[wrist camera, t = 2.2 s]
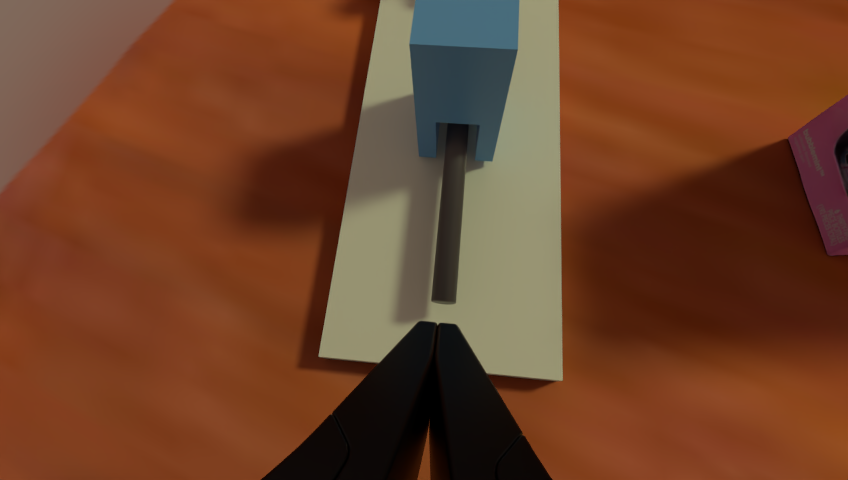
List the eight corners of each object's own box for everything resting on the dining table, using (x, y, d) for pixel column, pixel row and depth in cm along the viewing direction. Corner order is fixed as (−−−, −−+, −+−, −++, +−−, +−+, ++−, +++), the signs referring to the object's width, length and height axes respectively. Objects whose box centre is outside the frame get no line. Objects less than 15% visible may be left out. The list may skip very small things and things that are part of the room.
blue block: (492, 161, 24) (517, 49, 16) (418, 156, 25) (409, 44, 17) (495, 89, 26) (520, -44, 18) (427, 85, 26) (421, -48, 18)
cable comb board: (556, 381, 22) (599, 376, 16) (324, 358, 22) (284, 345, 17) (553, -48, 32) (578, -146, 26) (394, -53, 33) (384, -150, 27)
